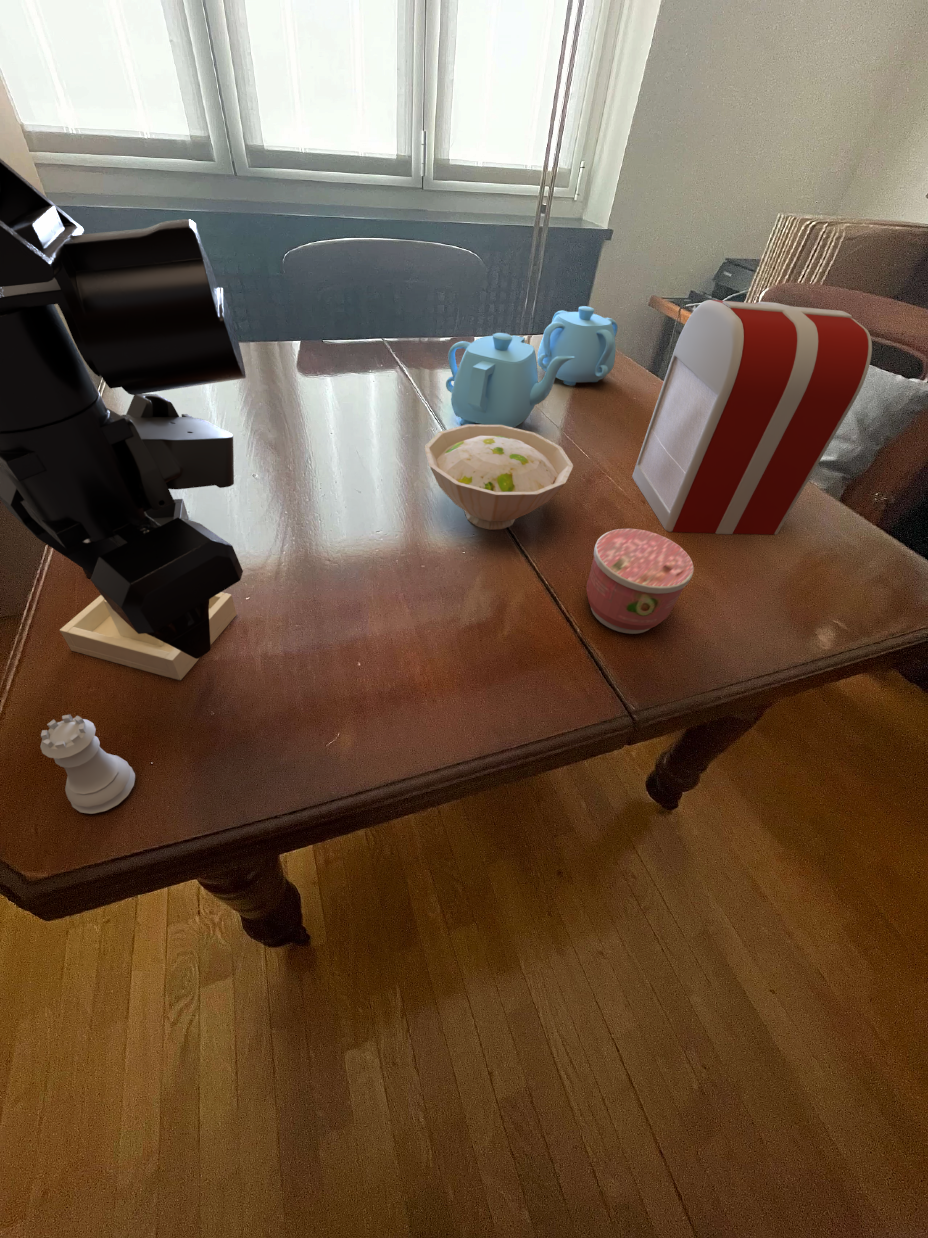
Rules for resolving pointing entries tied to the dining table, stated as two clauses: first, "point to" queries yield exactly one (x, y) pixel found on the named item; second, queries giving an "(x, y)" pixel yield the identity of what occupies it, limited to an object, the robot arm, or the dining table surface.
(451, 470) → the bowl
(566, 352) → the decorative pot
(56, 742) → the rook chess piece
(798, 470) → the red striped display case
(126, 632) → the cream block
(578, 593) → the dining table surface
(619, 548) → the container
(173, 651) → the cream tray
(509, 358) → the teapot
